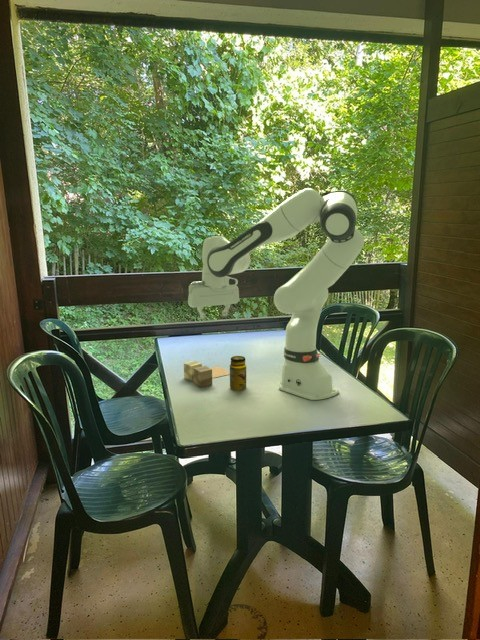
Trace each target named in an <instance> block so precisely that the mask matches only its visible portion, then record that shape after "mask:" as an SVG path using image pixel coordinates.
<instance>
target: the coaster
mask: <svg viewBox="0 0 480 640" xmlns="http://www.w3.org/2000/svg"><path fill="white" fill-rule="evenodd" d="M209 368H210V369H212V380H213V379H217V378H221V377H225V376H230V370H227V369H225V368H223V367H221V366H219V365H218V366H215V367H209Z"/></svg>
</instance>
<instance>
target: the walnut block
mask: <svg viewBox="0 0 480 640" xmlns="http://www.w3.org/2000/svg"><path fill="white" fill-rule="evenodd" d="M210 368H211V367H208V366H206V365H204V366H203V365H202V367H198V368H194V381H193V384H194V385H195V386H197V387H199V388H205V387H208V386H212V385H213V379H212V369H210Z"/></svg>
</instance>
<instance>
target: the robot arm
mask: <svg viewBox="0 0 480 640" xmlns="http://www.w3.org/2000/svg"><path fill="white" fill-rule="evenodd" d="M357 204H358V203H357V200H356V197H355V196H354V195H353V194H352V193H351V192H349V191H348V190H344V189H343V190H342V189H339V190H334V191H333V190H332V191H327V192H324V193H322V194H320V193H319V192H318V191H317V190H315V189H314V188H311V187H307V188H306V187H305V188H303V189H301V190H299V191H297V192H296V193H294V194H292V195H291V196H289V197H288V198H286V199H285V200H284V201H282V202H280V204H278V205H277V206H276V207H274V209H272V210H271V211H270V212H269V213H268V214H266V215H265V216H264V217H263V218H261V219H260V220H259V221H258V222H257V223H255V224H254V225H253V226H251V227H250V228H248V229H247V230H245V231H244V232H243V233H241V234H240V235H238V236H236V238H234V239H233V240H231V241H230V240H228V239H227V237H225V236H223V235H216V236H215V235H214V236H208V237H206V238H205V239H204V241H203V243H202V250H201V251H202V255H201V261H202V270H201V272H202V273H201V274H202V275H201V281H200V280H199V281H192V282H191V283H190V284H189V285H188V297H187V304H188V306H189V307H191V308H192V309H195V308H196V309H197V311H198V313H199V318H200V319H202V320H204V319H206V315H207V314H206V313H204V311H203V310H204V307H205V308H206V307H213V306H224V309H223V310H222V311H221V316H222V317H227V316H228V313H229V310H230V308H231V305H234V304H235V305H236V304H238V303H239V301H240V290H239V287H238V286H237V285H238V283H239V280H238V279H237V278H234V277H231V276H230V275H236V274H240V273H244V272H245V271H247V270H249V267H250V266H251V262H252V261H251V260H252V259H251V257H252V256H251V254H250V253H251V252H252V251H254V250H256V249H258V248H259V247H261V246H265V245H268V244H272V243H278V242H284V241H285V240H289V239H290V238H292V237H294V236H296V235H298V234H300V232H302V231H303V230H304V229H306V228H307V227H308V226H311V225H312V224H315V223H320V226H321V229H322V231H323V232H324V234H325V235H326V236H327V237H328V240H327V241H326V242H325V243H324V245H323V246H322V247H321V248H320V250H319V251H318V252H317V253H315V255H314V257H312V259H311V260H310V261H309V262H308V263H307V264H306V265H305V266H304V267H303V268H302V269H300V271H299V272H297V273H296V274H295V275H293V276H292V277H291V278H290V279H289V280H288V281H287V282H286V283H284V284H282V285H281V286H280V287H278V288H277V289H276V290H275V291H274V292H275V293H274V294H273V304H274V306H275V308H276V309H277V310H278V311H279V312H280V313H282V314H288V315H291V318H290V320H289V322H288V323H287V324H286V327H285V346H284V349H283V357H284V361H283V365H282V370H281V371H282V372H281V380H280V385H279V386H278V389H279V390H280V391H283V392H285V393H289V394H293V395H294V396H298V397H301V398H303V399H306V400H310V401H318V400H319V401H320V400H324V399H328V398H329V399H330V398H332V397H334V396H336V395H338V394H339V393H340V389H339V388H337V387H336V386H334V385H333V378H332V375H331V373H330V372H329V370H328V369H326V367H325V366H324V365H323V364H322V362H321V361H320V357H321V355H322V353H318V350H317V347H316V345H317V332H318V331H317V329H318V324H319V320H320V316H321V314H322V310H323V307H324V305H325V303H326V302H327V300H328V297H329V288H330V287H332V286H333V285H334V284H335V283H336V282H337V281H338V280H339V279H340V277H342V276H343V274H344V273H345V272H346V271H347V270H348V269H349V267H350V266H351V265H353V263H354V261H355V260H356V258H358V256H359V254H360V253H361V251H362V249H363V247H364V245H365V238H364V236H363V234H362V233H361V231H359V230H358V229H357V228H356V227H357V218H358V205H357Z"/></svg>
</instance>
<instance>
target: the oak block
mask: <svg viewBox="0 0 480 640" xmlns="http://www.w3.org/2000/svg"><path fill="white" fill-rule="evenodd" d="M198 367H203V364H202V362H199V361H196V360H190V361H188V362H183V378H184V379H185V380H188V381H190V382H194V368H198Z"/></svg>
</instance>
